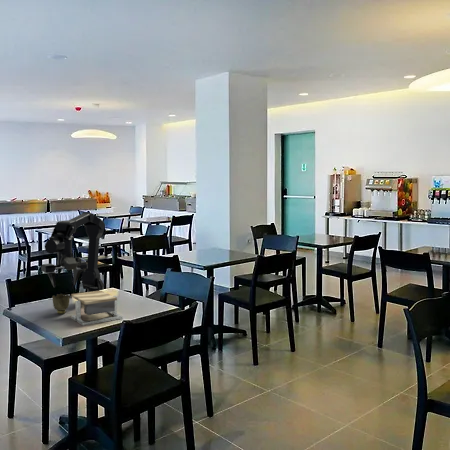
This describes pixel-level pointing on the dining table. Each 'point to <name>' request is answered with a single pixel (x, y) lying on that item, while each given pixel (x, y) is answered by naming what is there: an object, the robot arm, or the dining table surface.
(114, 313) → the trapdoor frame
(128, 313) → the dining table surface
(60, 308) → the bronze domed piece
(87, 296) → the trapdoor
